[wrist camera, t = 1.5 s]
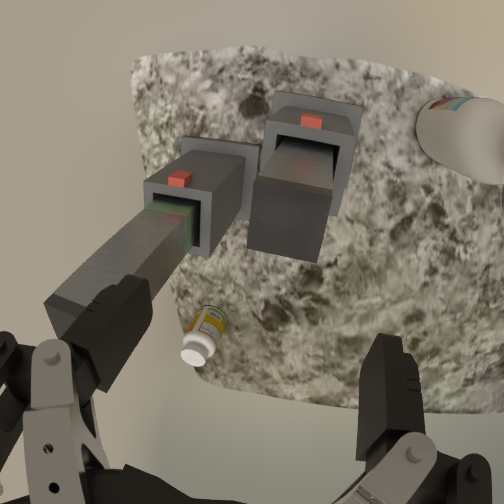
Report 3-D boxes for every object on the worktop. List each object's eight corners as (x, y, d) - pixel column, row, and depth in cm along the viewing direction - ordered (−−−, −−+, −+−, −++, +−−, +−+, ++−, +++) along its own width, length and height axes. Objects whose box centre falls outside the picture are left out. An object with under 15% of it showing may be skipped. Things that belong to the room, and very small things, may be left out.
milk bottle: (459, 172, 32) (557, 232, 14) (406, 147, 33) (486, 188, 15) (478, 115, 29) (587, 135, 11) (424, 87, 29) (518, 74, 11)
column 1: (216, 183, 34) (91, 323, 16) (214, 216, 36) (107, 367, 18) (181, 177, 35) (43, 302, 17) (181, 210, 37) (61, 346, 19)
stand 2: (362, 106, 33) (377, 122, 22) (346, 185, 38) (350, 235, 27) (276, 90, 34) (249, 99, 23) (266, 169, 39) (238, 212, 29)
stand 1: (260, 145, 38) (229, 178, 27) (252, 218, 43) (223, 273, 33) (184, 135, 39) (129, 164, 29) (183, 204, 45) (136, 252, 34)
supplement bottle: (203, 327, 57) (183, 368, 49) (193, 304, 55) (171, 345, 46) (231, 328, 55) (213, 371, 47) (222, 304, 53) (203, 347, 45)
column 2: (332, 127, 34) (332, 196, 16) (326, 160, 36) (316, 263, 18) (297, 120, 34) (253, 180, 16) (292, 153, 36) (246, 248, 18)
